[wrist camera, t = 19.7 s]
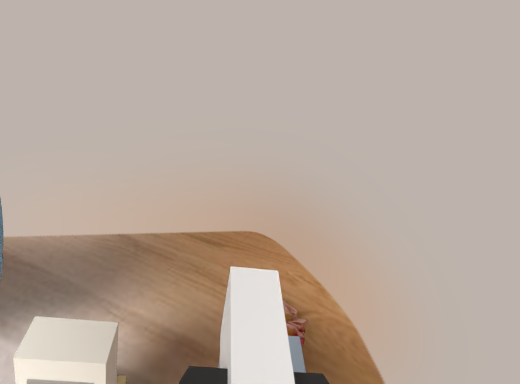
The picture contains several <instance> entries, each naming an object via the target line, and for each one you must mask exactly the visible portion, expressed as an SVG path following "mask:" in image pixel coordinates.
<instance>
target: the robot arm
mask: <svg viewBox="0 0 520 384" xmlns="http://www.w3.org/2000/svg"><path fill="white" fill-rule="evenodd" d="M2 249H3V220H2V207H1V199H0V281H1V276H2V269H3V255H2ZM179 384H329V383H328V381H327V380H326V378H325V377H324V375H323V374H319V373H303V372H293V367H292V361H291V354H290V347H289V341H288V334H287V327H286V321H285V314H284V307H283V301H282V294H281V288H280V281H279V274H278V271H275V270H265V269H254V268H243V267H232V266H231V268H230V274H229V280H228V287H227V293H226V300H225V306H224V313H223V319H222V325H221V332H220V368H210V367H195V366H189V367H188V369H187V371H186V372H185V374H184V375H183V377H182V379H181V380H180V382H179Z"/></svg>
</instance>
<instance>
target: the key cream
mask: <svg viewBox="0 0 520 384" xmlns="http://www.w3.org/2000/svg"><path fill="white" fill-rule="evenodd" d="M117 351H118V322H105V321H92V320H79V319H66V318H53V317H39V316H35V317H34V319H33V321H32V323H31V325H30V327H29V329H28V331H27V333H26V334H25V336H24V338H23V340H22V342H21V344H20V346H19V348H18V350H17V352H16V353H15V355H14V357H13V361H14V370H15V380H16V384H117Z"/></svg>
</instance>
